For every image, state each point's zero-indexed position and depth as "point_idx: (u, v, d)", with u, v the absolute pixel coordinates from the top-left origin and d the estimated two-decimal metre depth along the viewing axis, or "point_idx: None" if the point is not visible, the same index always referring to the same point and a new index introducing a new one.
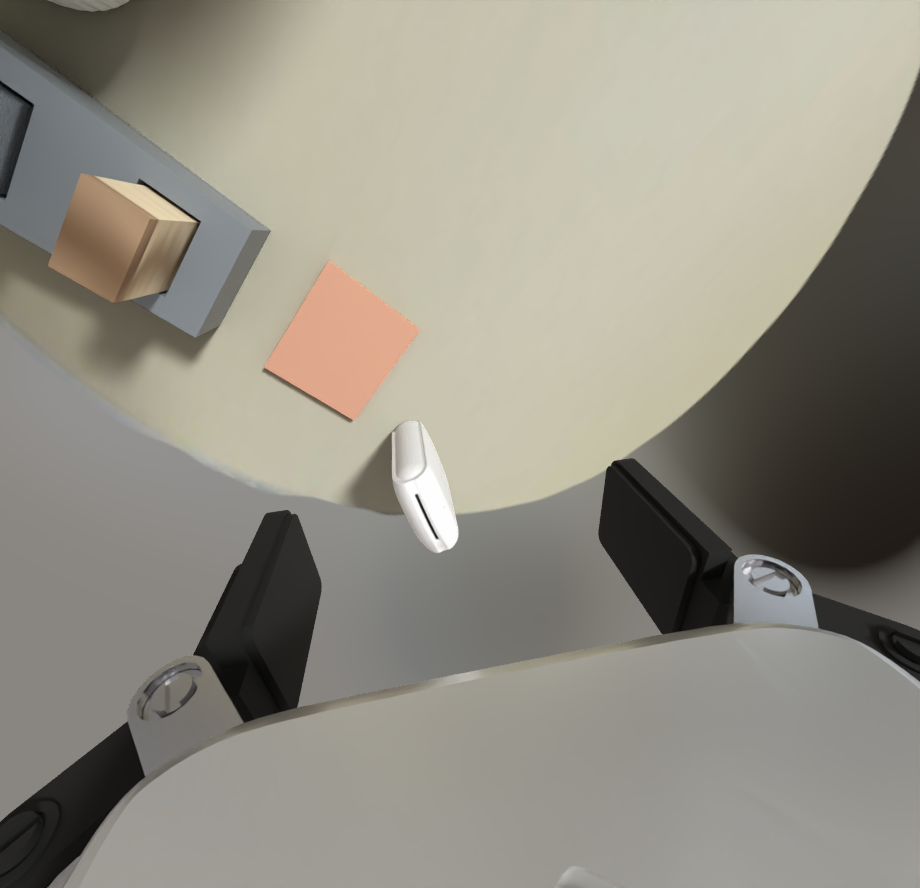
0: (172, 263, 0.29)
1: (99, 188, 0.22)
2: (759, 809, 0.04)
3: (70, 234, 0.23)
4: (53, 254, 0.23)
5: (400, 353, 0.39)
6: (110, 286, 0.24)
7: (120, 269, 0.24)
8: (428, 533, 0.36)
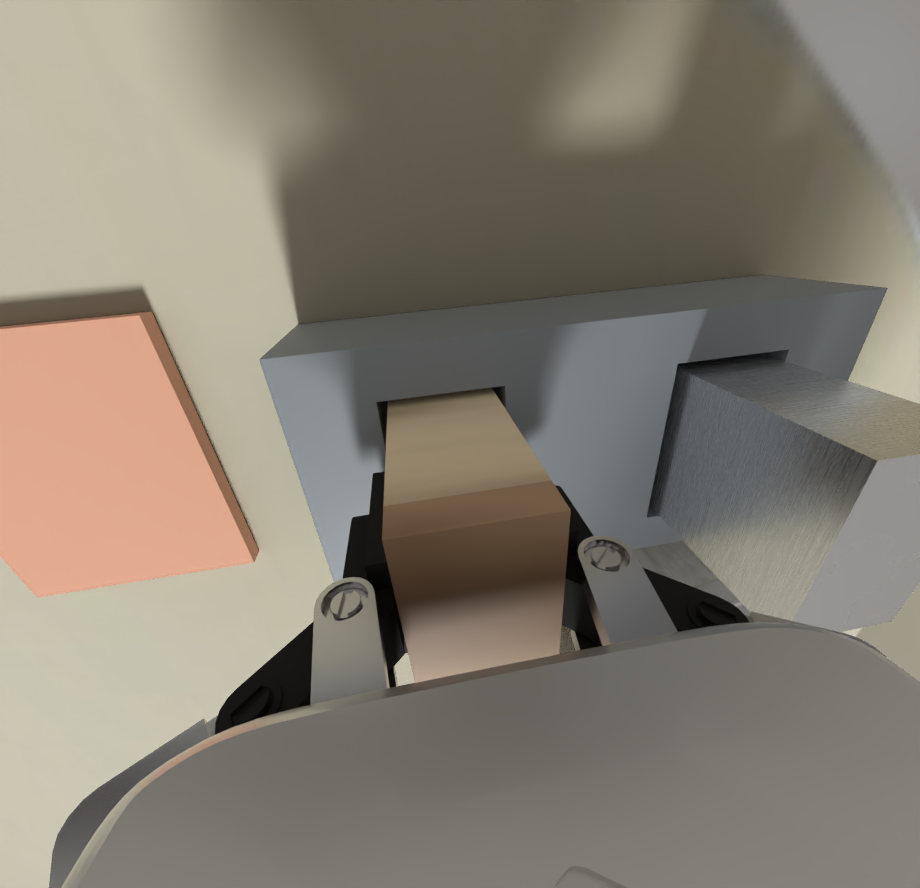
0: None
1: None
2: (759, 809, 0.04)
3: (542, 605, 0.08)
4: (564, 543, 0.08)
5: (0, 550, 0.17)
6: (414, 573, 0.07)
7: (417, 621, 0.08)
8: None
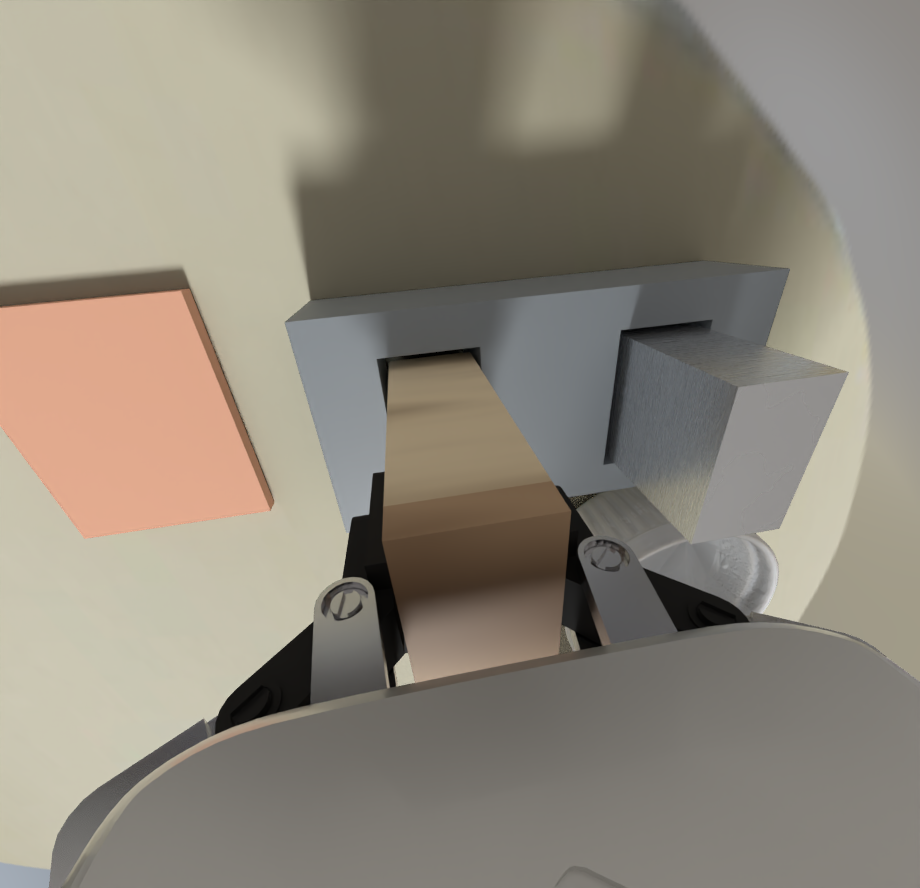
0: None
1: None
2: (759, 810, 0.04)
3: (542, 605, 0.08)
4: (564, 544, 0.08)
5: (56, 494, 0.20)
6: (414, 574, 0.07)
7: (417, 621, 0.08)
8: None
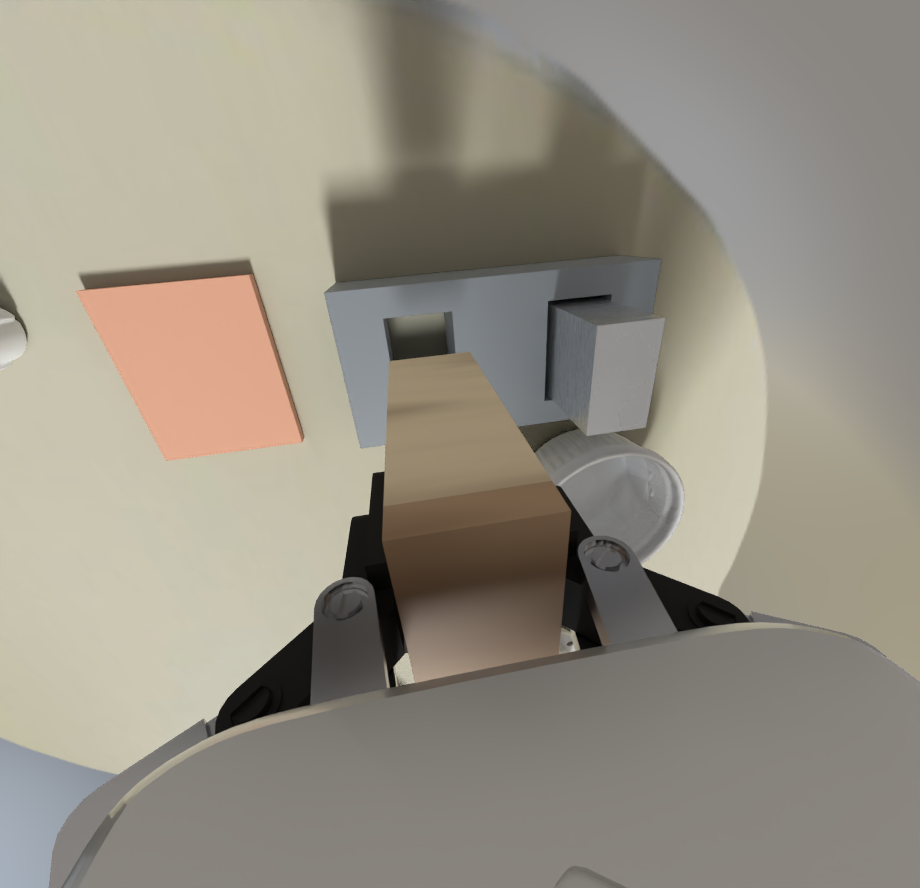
0: None
1: None
2: (759, 810, 0.04)
3: (542, 605, 0.08)
4: (564, 544, 0.08)
5: (149, 424, 0.27)
6: (414, 574, 0.07)
7: (417, 621, 0.08)
8: None
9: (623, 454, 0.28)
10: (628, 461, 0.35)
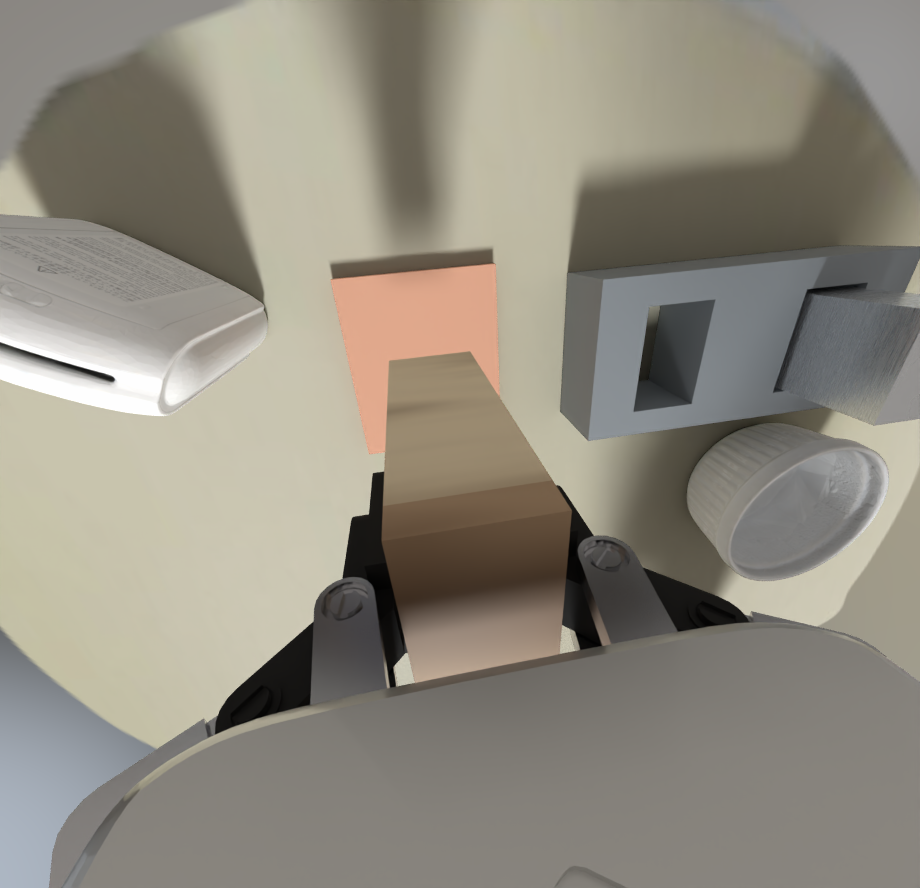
0: None
1: None
2: (759, 809, 0.04)
3: (543, 605, 0.08)
4: (565, 543, 0.08)
5: (363, 417, 0.27)
6: (414, 573, 0.07)
7: (417, 621, 0.08)
8: None
9: (844, 447, 0.27)
10: None
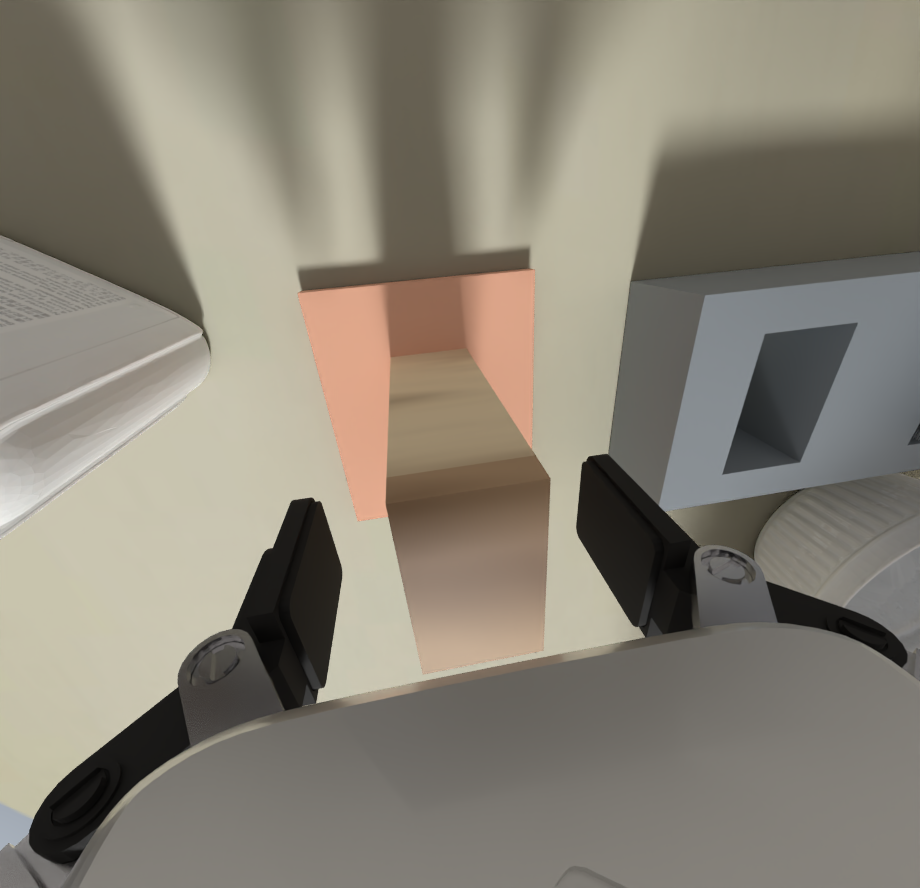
0: None
1: (510, 653, 0.11)
2: (759, 809, 0.04)
3: (528, 567, 0.09)
4: (546, 509, 0.09)
5: (349, 476, 0.20)
6: (413, 535, 0.08)
7: (416, 580, 0.09)
8: None
9: None
10: None
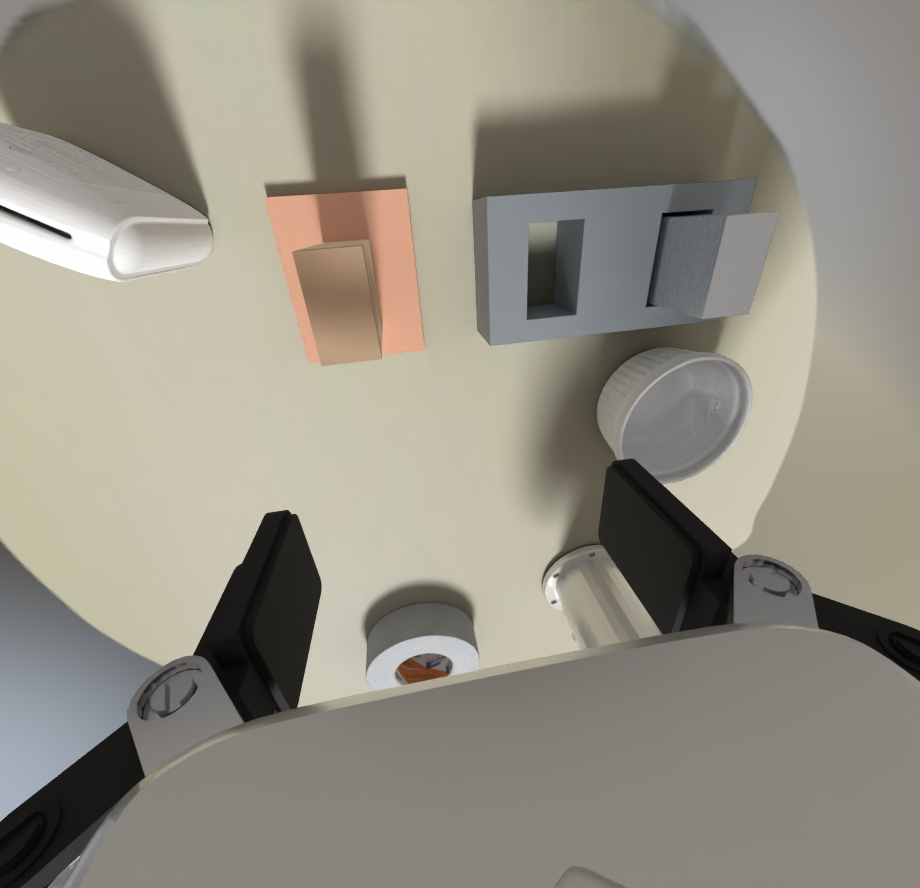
0: None
1: (364, 358, 0.23)
2: (759, 809, 0.04)
3: (362, 298, 0.21)
4: (363, 263, 0.20)
5: (301, 327, 0.31)
6: (305, 270, 0.20)
7: (310, 299, 0.21)
8: None
9: (708, 357, 0.32)
10: (694, 380, 0.40)
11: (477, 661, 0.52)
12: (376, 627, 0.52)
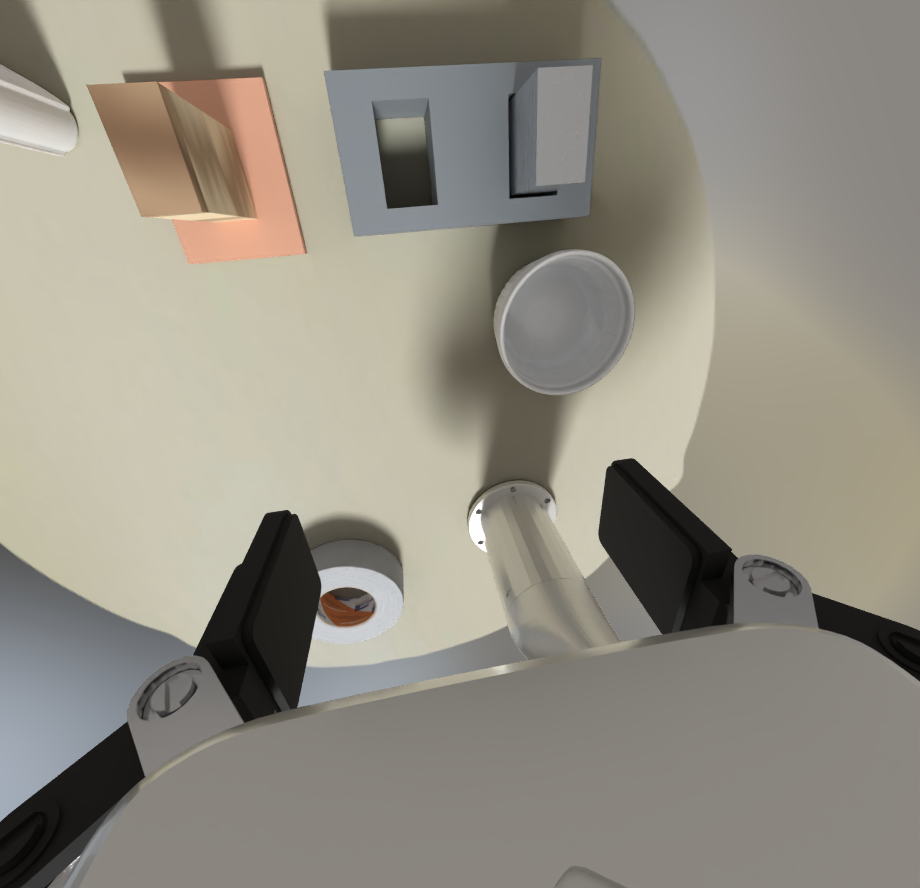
0: None
1: (184, 210, 0.23)
2: (759, 809, 0.04)
3: (168, 140, 0.22)
4: (162, 102, 0.21)
5: (176, 224, 0.32)
6: (104, 107, 0.21)
7: (115, 139, 0.21)
8: None
9: (577, 251, 0.33)
10: (590, 295, 0.40)
11: (401, 599, 0.52)
12: None
